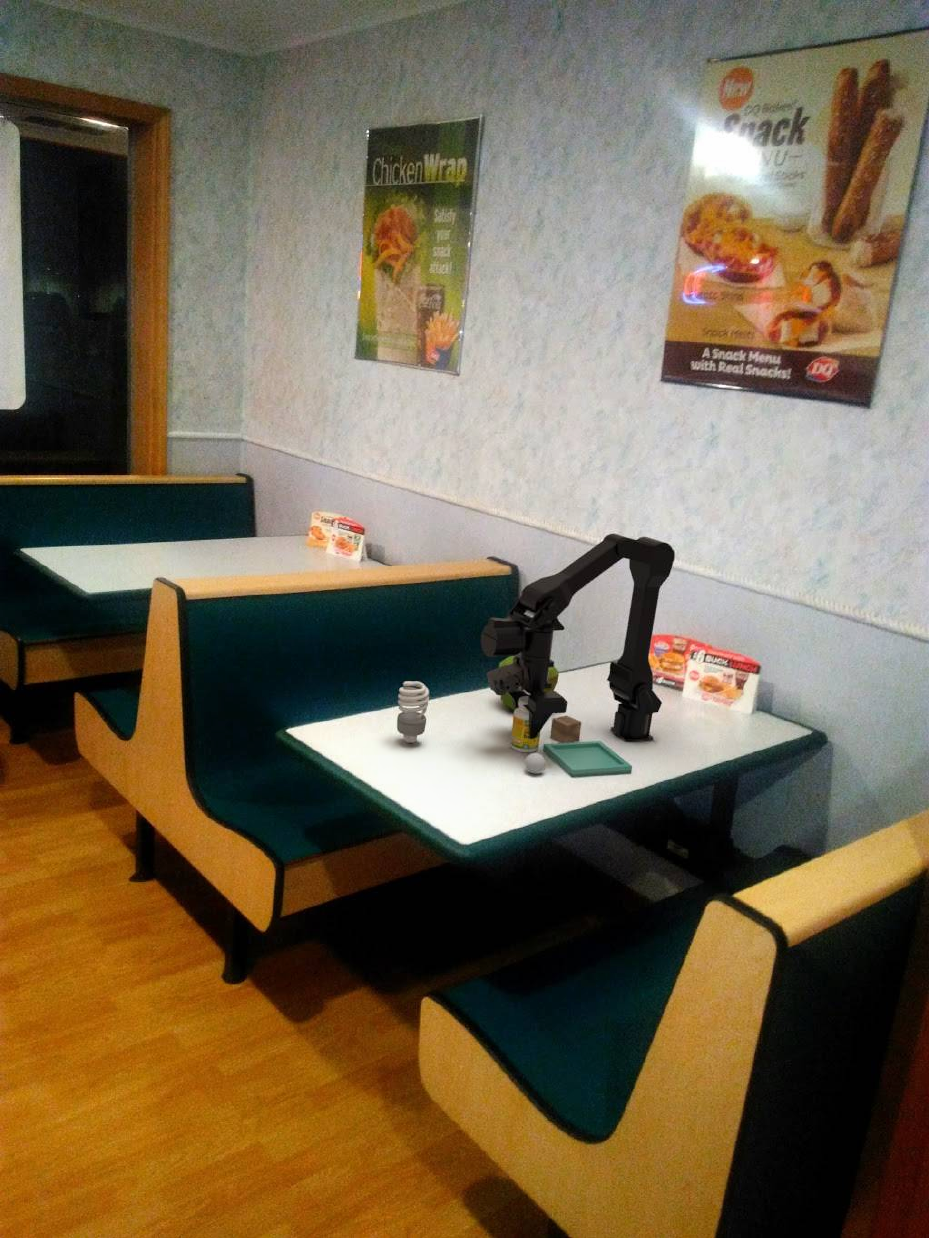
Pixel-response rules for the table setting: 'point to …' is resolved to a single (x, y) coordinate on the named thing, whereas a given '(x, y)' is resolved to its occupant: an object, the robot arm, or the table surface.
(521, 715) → the supplement bottle
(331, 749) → the table surface
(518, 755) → the table surface
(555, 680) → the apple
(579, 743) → the tray
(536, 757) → the grey ball
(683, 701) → the table surface
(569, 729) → the walnut cube
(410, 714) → the light bulb
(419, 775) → the table surface
